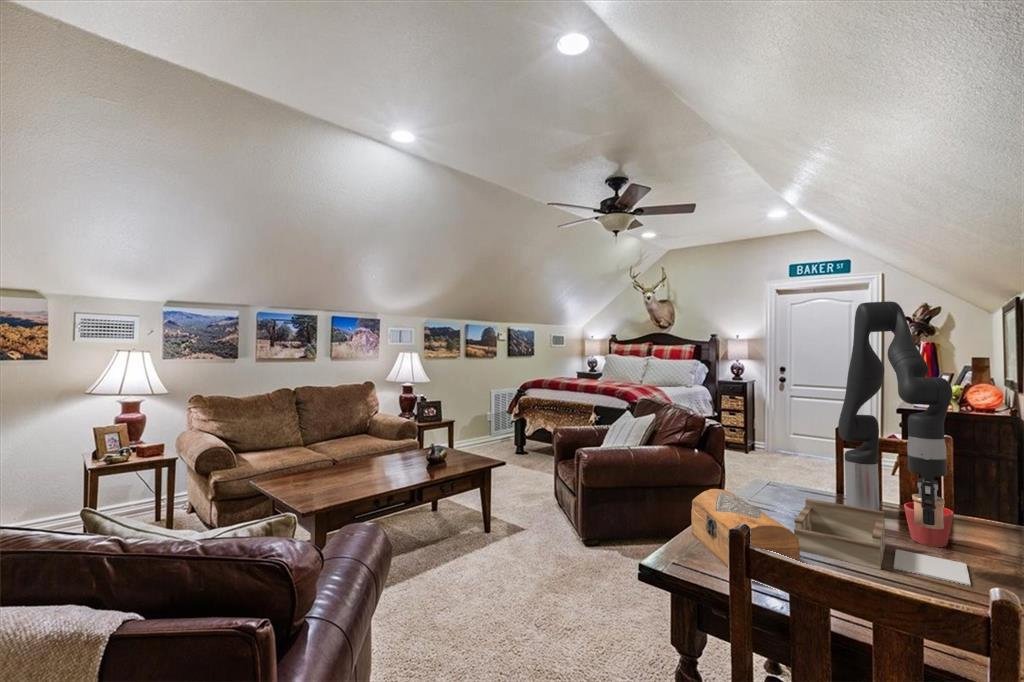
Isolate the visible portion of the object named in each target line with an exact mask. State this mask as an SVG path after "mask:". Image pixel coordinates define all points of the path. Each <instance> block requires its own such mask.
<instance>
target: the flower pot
mask: <svg viewBox="0 0 1024 682" xmlns="http://www.w3.org/2000/svg"><path fill="white" fill-rule="evenodd" d="M903 507H904V512H905V517H906V521H907V525H908V530H909V535H910V537H911V540H913V541H914V542H916V543H919V544H921V545H924V546H929V547H936V548H945V547H947V546H948V543H949V538H950V535H951V530H952V525H953V521H954V511H953V510H951V509H949V508H946V507H944V506H943V520H944V528H943V529H931V528H926V527H922V526H919V525H917V524H915V522H914V501H912V502H907V503H904V504H903Z"/></svg>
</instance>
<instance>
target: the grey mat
mask: <svg viewBox="0 0 1024 682" xmlns="http://www.w3.org/2000/svg"><path fill="white" fill-rule="evenodd" d="M893 569H894V570H897V569H898V570H897V571H901V570H902V571H901V572H905V571H906V572H905V573H910V572H912V573H911V574H914V573H916V574H915V575H919V574H920V575H919V576H924V577H927V578H932V579H937V580H940V579H941V581H945V580H946V582H949V581H951V582H950V583H953V582H955V583H954V584H958V583H960V584H959V585H962V584H965V585H964V586H967V585H969V586H968V587H971V580H970V575H969V571H968V567H967V563H964V562H959V561H956V560H955V561H954V560H951V559H950V560H949V559H947V558H946V559H945V558H941V557H936V556H930V555H926V554H921V553H917V552H916V553H915V552H910V551H907V550H901V549H897V548H896V549H895V555H894V562H893Z"/></svg>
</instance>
